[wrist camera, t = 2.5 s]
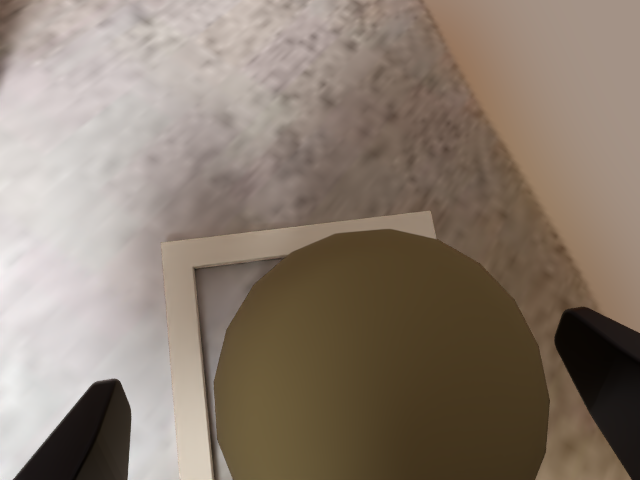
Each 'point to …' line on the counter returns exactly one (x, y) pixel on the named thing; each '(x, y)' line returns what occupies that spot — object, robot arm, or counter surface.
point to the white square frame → (185, 315)
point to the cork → (380, 368)
